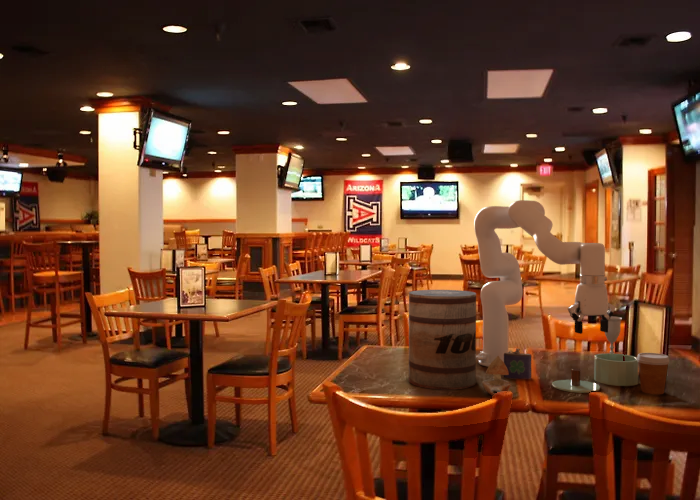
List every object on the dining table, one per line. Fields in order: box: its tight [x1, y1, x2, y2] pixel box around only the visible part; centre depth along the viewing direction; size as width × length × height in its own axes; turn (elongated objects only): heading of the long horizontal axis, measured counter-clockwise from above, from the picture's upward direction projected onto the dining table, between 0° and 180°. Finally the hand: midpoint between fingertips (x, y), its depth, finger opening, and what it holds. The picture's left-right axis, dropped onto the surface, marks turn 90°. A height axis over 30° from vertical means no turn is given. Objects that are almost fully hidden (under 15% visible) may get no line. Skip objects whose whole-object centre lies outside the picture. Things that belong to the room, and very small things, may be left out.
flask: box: [503, 348, 532, 380], centre depth 218 cm, size 9×3×11 cm, turn 74°
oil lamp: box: [482, 356, 512, 397], centre depth 199 cm, size 9×21×10 cm, turn 165°
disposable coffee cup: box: [636, 352, 671, 395], centre depth 200 cm, size 10×10×12 cm
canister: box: [593, 352, 640, 387], centre depth 214 cm, size 14×14×8 cm
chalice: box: [604, 315, 623, 354], centre depth 241 cm, size 7×7×18 cm
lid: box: [551, 368, 601, 394], centre depth 206 cm, size 15×15×6 cm
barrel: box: [408, 289, 477, 390], centre depth 215 cm, size 22×22×30 cm
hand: (591, 332), depth 210 cm, fingers open, 9 cm apart
